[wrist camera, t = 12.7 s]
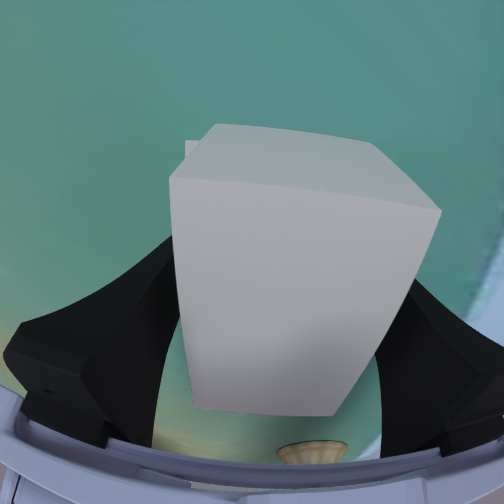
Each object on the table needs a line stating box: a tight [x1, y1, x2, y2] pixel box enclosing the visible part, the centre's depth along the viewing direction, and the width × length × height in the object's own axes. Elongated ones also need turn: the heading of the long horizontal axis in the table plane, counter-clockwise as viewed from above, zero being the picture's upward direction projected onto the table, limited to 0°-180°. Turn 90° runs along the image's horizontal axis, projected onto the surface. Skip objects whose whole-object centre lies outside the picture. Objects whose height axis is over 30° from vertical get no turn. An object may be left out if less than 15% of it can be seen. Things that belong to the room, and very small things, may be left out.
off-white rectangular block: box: [169, 124, 442, 416], centre depth 11 cm, size 10×6×6 cm, turn 175°
